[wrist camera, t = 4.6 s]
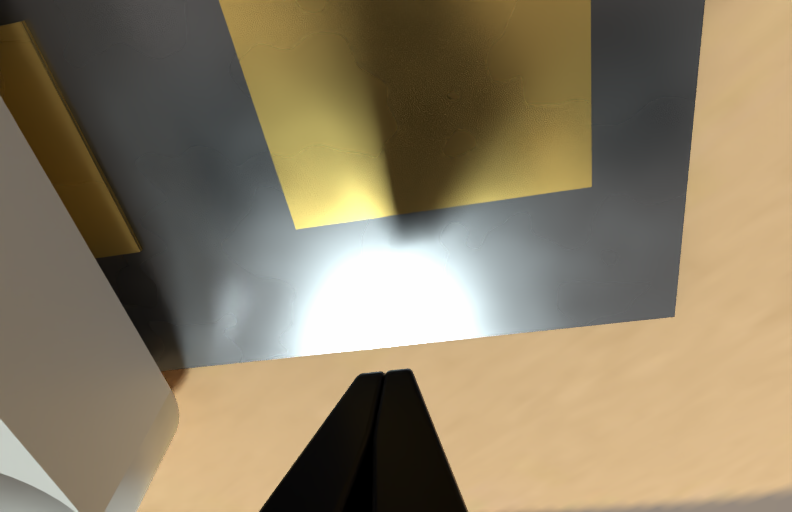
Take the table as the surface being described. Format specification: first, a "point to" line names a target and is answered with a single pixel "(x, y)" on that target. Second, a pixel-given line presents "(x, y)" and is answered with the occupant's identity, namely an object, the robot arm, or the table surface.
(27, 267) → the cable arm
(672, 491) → the table surface
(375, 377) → the robot arm
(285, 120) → the label plate
